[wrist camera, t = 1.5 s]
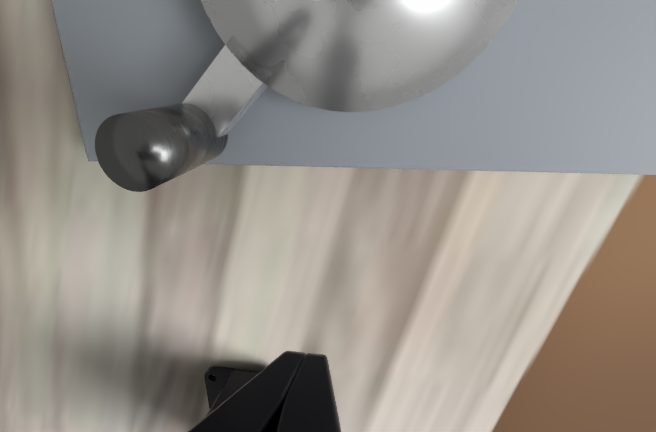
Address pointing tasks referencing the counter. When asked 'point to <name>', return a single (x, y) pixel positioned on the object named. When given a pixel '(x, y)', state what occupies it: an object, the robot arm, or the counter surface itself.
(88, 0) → the slate board
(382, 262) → the counter surface
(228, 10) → the silver round handled piece
